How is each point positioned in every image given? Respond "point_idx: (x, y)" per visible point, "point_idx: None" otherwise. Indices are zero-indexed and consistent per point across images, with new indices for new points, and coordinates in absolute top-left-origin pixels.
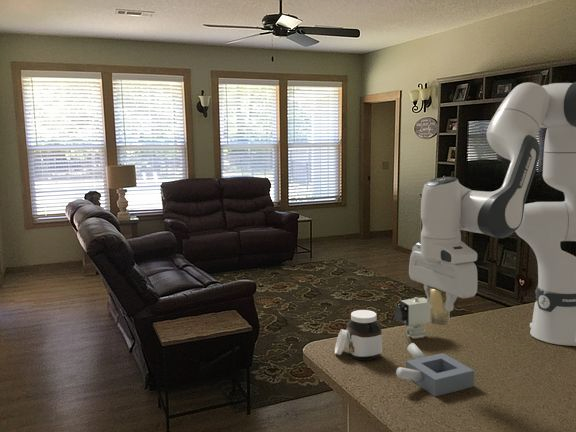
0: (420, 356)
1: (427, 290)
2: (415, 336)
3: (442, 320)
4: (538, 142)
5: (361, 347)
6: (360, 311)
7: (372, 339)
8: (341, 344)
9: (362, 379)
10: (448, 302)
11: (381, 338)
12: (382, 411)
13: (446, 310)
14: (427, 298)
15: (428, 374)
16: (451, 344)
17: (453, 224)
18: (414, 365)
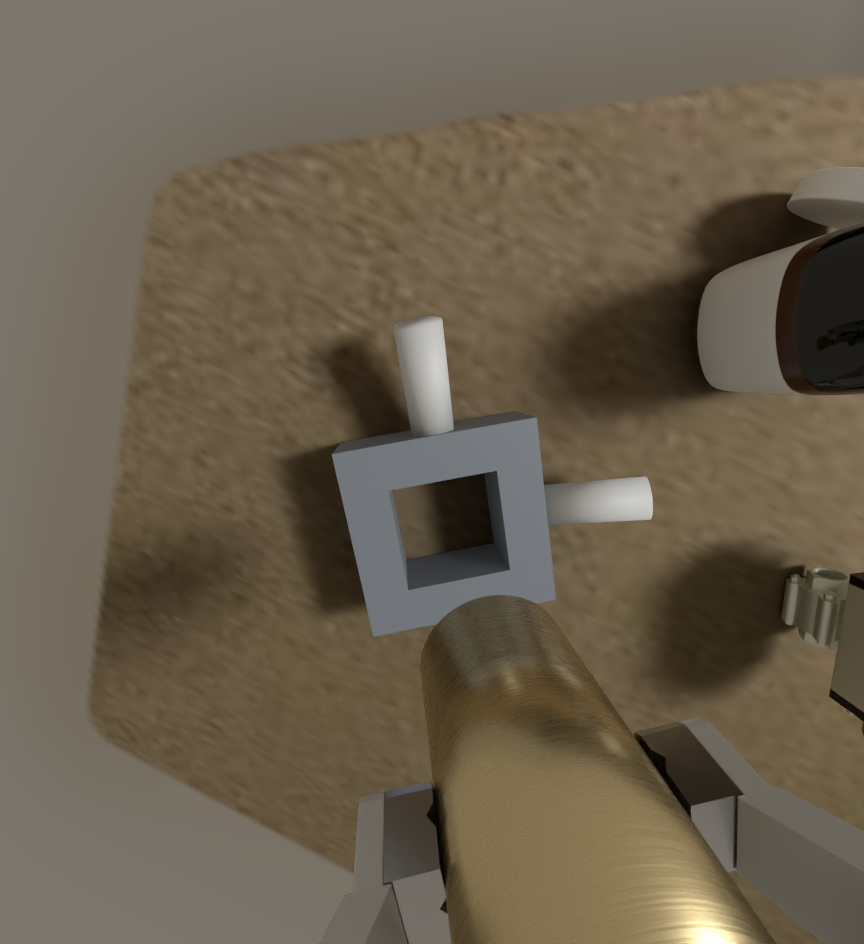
0: (560, 499)
1: (857, 883)
2: (794, 589)
3: (424, 678)
4: None
5: (745, 266)
6: None
7: (761, 319)
8: (828, 178)
9: (550, 223)
10: (324, 936)
11: (761, 382)
12: (277, 189)
13: (383, 792)
14: (734, 757)
15: (385, 450)
16: (689, 680)
17: None
18: (484, 432)
